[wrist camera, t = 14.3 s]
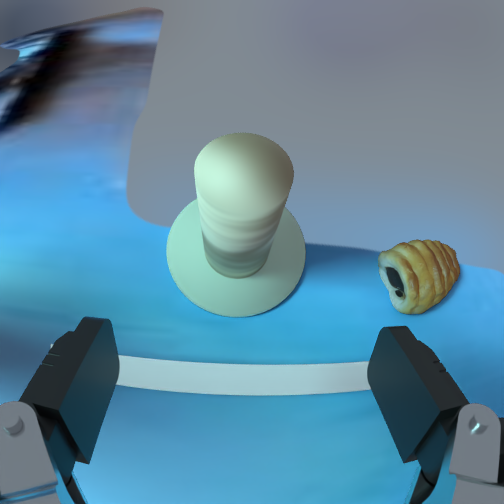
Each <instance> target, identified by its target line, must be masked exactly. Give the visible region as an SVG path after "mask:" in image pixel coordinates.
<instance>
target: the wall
mask: <svg viewBox="0 0 504 504" xmlns="http://www.w3.org/2000/svg"><path fill="white" fill-rule="evenodd" d="M52 346H53V345H52V344H51V348H52ZM51 348H50V349H51ZM118 356H119V362H120V371H119V377H118V380H117V383H116V385H122V386H129V387H137V388H145V389H154V390H163V391H174V392H186V393H201V394H220V395H304V394H324V393H338V392H350V391H361V390H370V389H371V388H370V385H369V383H368V379H367V368H368V364H369V361H366V362H351V363H332V364H303V365H247V364H217V363H198V362H183V361H171V360H159V359H149V358H139V357H131V356H122V355H118Z"/></svg>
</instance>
